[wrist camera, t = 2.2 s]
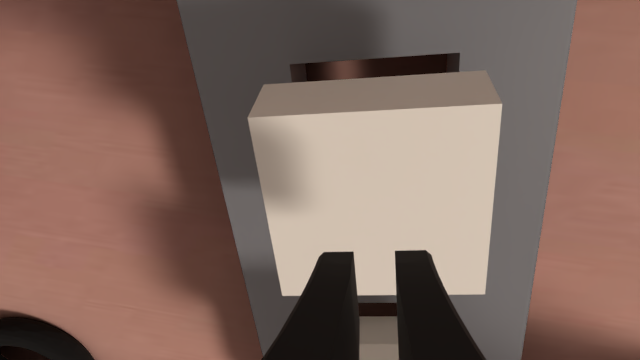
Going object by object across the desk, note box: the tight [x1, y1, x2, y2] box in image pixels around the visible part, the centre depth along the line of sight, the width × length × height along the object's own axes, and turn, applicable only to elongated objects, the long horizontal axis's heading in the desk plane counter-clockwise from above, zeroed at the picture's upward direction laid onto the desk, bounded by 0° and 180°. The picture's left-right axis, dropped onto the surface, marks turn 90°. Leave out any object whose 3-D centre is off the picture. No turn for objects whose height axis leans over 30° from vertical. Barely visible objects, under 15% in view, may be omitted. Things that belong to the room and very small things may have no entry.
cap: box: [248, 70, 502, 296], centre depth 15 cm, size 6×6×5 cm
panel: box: [177, 0, 577, 360], centre depth 20 cm, size 22×11×3 cm, turn 6°
